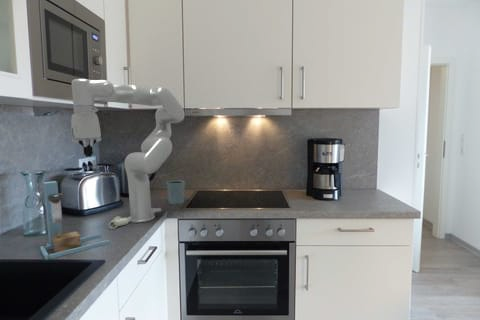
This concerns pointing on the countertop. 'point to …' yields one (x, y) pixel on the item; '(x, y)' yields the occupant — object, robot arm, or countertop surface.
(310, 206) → the countertop surface
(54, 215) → the ram
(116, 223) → the pipe fitting
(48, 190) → the press
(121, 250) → the countertop surface
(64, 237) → the housing
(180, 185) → the drinking glass
